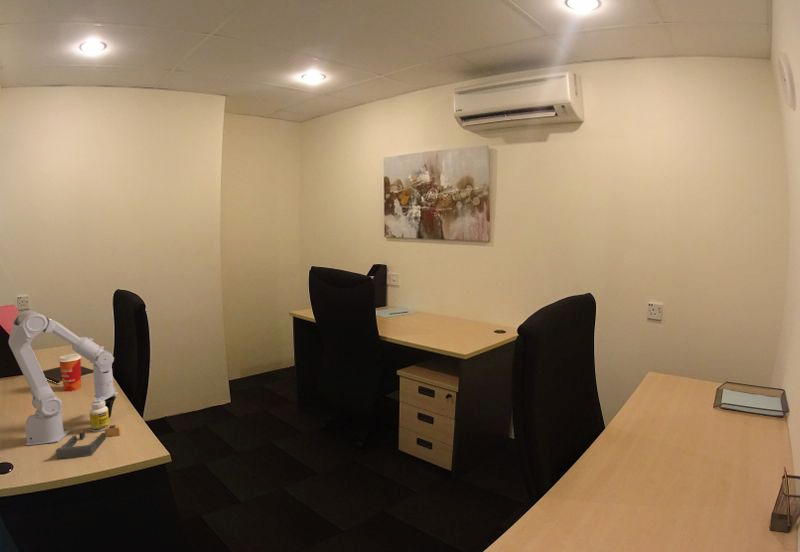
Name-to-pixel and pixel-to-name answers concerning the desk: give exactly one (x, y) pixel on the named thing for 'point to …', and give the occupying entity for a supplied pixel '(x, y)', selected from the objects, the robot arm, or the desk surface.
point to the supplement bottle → (99, 417)
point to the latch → (112, 430)
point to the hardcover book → (57, 376)
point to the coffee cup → (71, 371)
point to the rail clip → (79, 447)
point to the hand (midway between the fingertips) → (106, 417)
